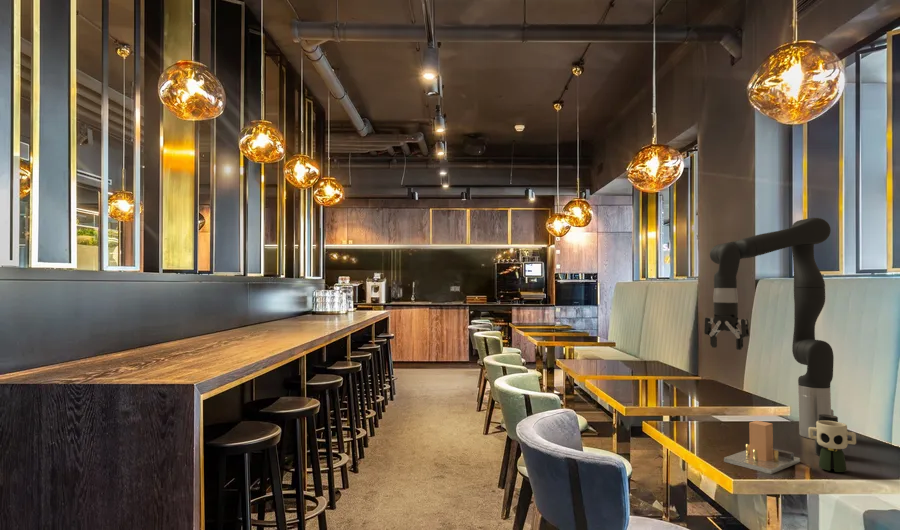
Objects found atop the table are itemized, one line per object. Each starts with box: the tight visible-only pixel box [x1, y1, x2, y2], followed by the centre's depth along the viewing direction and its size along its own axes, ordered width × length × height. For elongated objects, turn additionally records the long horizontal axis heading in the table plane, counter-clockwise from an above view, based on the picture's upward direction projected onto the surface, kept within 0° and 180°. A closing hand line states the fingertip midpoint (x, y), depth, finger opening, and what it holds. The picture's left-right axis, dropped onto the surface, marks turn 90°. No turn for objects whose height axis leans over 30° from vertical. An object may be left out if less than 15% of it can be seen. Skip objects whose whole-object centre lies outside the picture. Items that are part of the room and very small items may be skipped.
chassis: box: [723, 443, 801, 475], centre depth 160 cm, size 18×13×4 cm
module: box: [748, 420, 774, 461], centre depth 160 cm, size 4×4×10 cm
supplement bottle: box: [814, 414, 843, 457], centre depth 166 cm, size 7×7×12 cm
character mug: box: [808, 421, 857, 473], centre depth 153 cm, size 11×7×13 cm, turn 54°
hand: (726, 348), depth 188 cm, fingers open, 8 cm apart
